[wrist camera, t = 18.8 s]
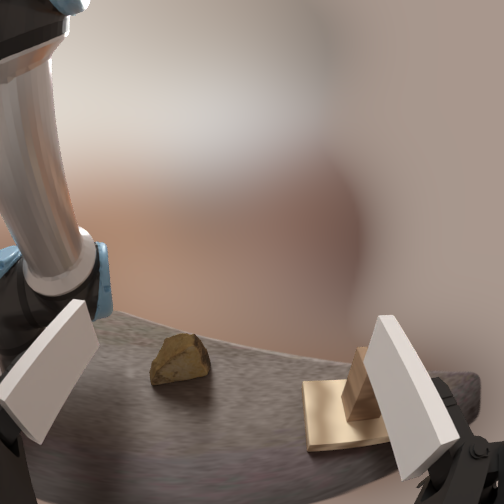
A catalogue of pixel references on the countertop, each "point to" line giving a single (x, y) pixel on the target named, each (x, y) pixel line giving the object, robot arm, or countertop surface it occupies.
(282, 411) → the countertop surface
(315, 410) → the cutting board
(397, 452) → the robot arm
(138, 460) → the countertop surface
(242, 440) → the countertop surface
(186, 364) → the rock
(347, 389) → the walnut block
